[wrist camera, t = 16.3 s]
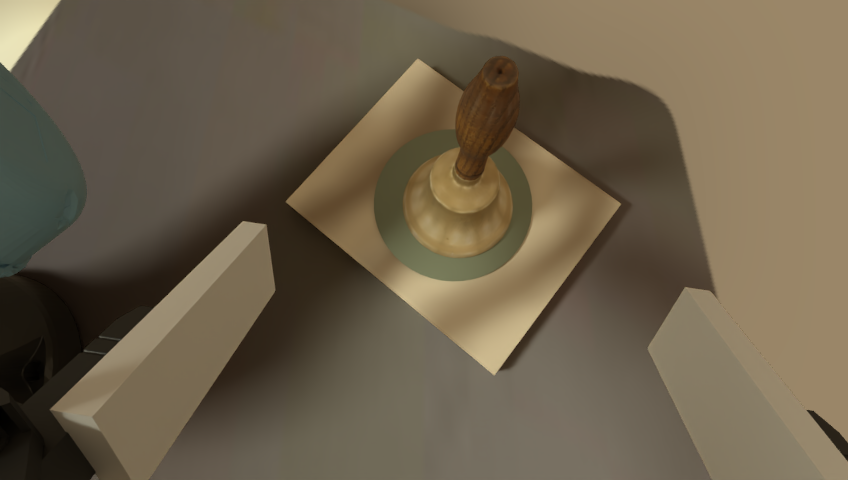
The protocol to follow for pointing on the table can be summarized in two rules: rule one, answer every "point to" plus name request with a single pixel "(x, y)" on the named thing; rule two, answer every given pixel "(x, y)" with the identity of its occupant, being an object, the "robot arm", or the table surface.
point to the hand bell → (468, 171)
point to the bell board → (435, 274)
